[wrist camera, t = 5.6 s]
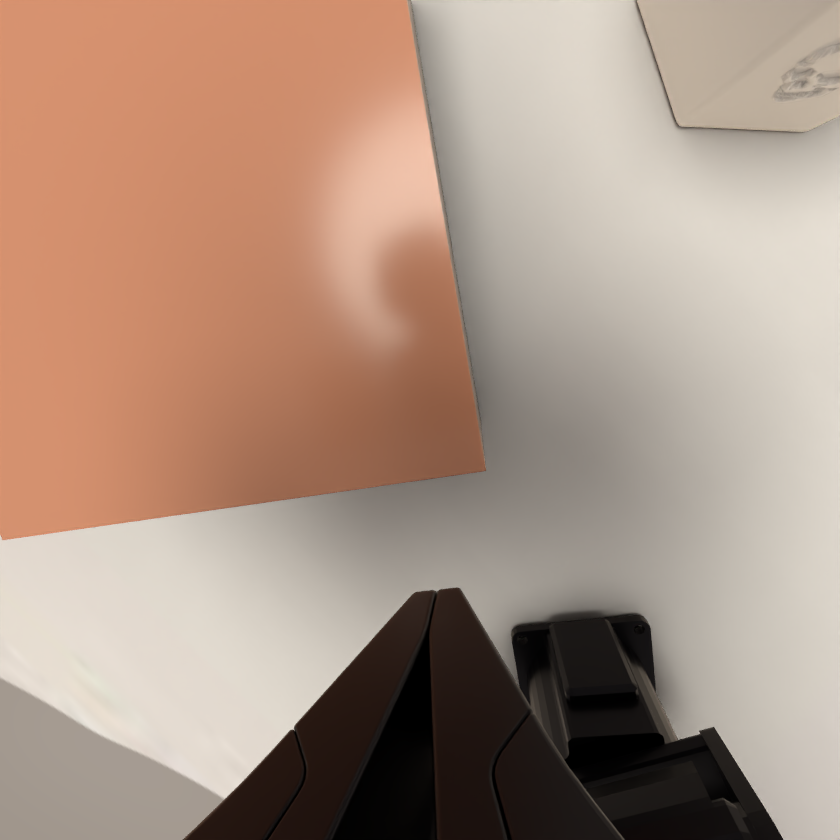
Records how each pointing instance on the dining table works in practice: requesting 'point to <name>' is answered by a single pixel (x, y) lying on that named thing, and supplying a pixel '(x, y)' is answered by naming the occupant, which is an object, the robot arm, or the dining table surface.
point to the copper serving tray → (219, 261)
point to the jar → (748, 61)
